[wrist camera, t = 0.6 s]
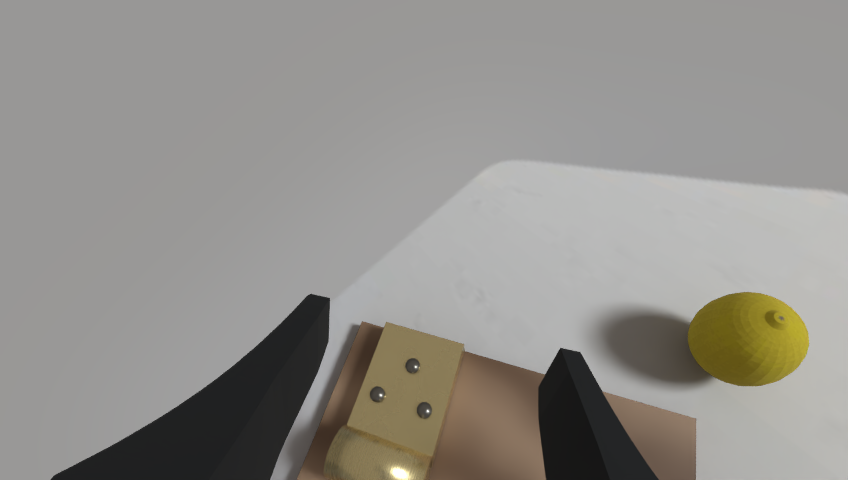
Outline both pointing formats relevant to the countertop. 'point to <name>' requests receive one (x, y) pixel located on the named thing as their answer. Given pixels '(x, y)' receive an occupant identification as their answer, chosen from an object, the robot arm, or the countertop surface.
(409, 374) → the plate
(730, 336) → the lemon
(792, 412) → the countertop surface
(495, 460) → the walnut board
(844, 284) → the countertop surface
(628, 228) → the countertop surface
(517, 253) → the countertop surface
